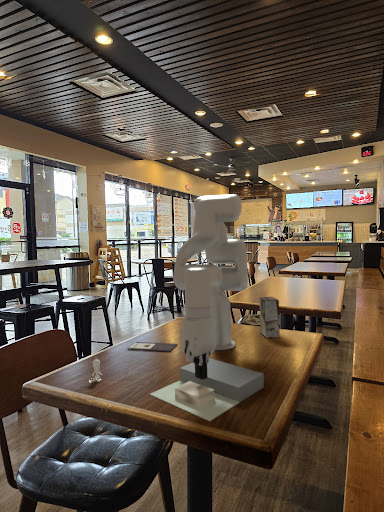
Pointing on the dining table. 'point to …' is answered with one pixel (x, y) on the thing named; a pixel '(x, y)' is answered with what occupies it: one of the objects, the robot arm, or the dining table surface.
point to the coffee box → (269, 317)
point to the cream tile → (194, 393)
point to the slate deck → (226, 379)
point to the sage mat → (205, 411)
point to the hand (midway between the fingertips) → (201, 377)
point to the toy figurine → (96, 370)
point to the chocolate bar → (153, 346)
